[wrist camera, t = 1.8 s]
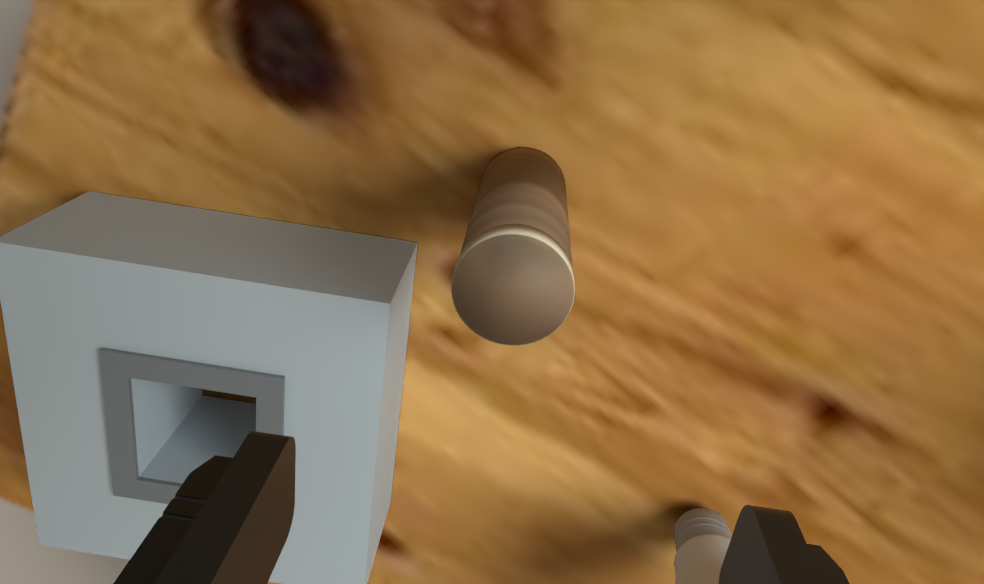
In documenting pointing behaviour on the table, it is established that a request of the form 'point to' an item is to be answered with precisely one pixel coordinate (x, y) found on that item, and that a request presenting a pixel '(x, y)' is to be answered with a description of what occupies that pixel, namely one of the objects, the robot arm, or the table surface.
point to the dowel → (516, 252)
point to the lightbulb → (700, 546)
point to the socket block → (204, 369)
